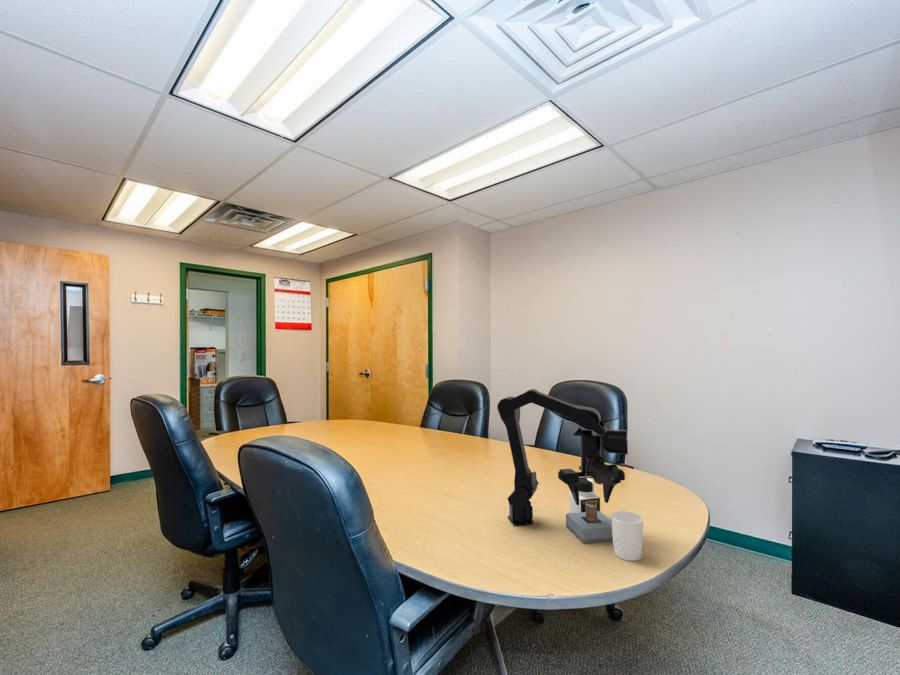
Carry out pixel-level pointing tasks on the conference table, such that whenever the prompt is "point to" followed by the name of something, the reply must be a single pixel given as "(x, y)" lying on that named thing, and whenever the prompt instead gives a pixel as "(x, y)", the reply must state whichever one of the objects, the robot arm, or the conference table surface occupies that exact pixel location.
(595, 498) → the medicine bottle
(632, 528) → the white cup
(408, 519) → the conference table surface
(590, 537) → the socket block
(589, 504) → the pin
